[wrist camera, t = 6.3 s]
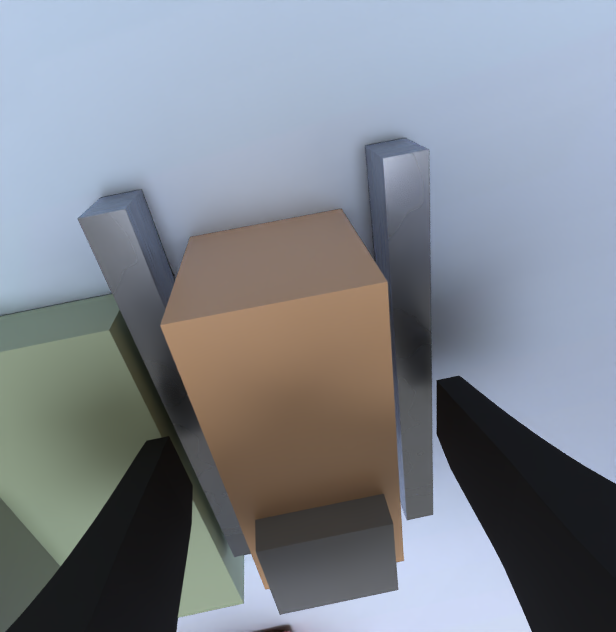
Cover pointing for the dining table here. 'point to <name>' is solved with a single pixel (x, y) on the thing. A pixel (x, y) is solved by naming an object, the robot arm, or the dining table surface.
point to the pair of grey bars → (404, 308)
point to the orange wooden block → (296, 400)
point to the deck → (84, 450)
